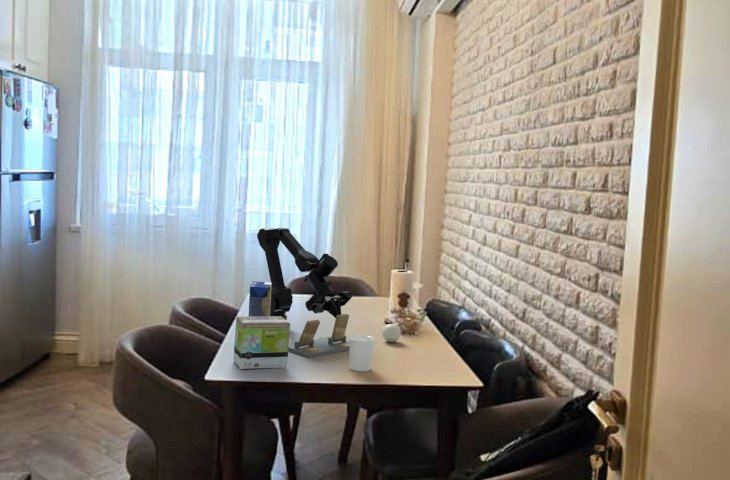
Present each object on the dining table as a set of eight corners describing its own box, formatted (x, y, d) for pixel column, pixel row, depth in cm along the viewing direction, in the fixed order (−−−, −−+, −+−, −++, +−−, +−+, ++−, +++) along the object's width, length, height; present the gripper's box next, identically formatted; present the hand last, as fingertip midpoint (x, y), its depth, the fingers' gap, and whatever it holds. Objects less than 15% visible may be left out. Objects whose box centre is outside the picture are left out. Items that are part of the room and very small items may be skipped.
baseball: (378, 342, 261) (379, 324, 261) (385, 338, 268) (386, 321, 267) (395, 345, 259) (397, 327, 258) (402, 341, 266) (403, 323, 265)
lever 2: (330, 341, 251) (336, 315, 248) (340, 339, 254) (346, 313, 252) (333, 343, 250) (339, 316, 247) (343, 341, 253) (349, 315, 251)
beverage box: (268, 344, 249) (271, 282, 247) (267, 352, 238) (270, 287, 236) (248, 343, 248) (252, 281, 246) (246, 351, 237) (250, 286, 235)
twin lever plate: (281, 348, 244) (281, 338, 243) (331, 339, 261) (331, 330, 261) (308, 357, 234) (309, 347, 234) (358, 347, 252) (359, 338, 251)
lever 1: (297, 345, 242) (307, 321, 238) (307, 343, 245) (317, 319, 242) (299, 347, 241) (309, 323, 237) (310, 345, 245) (320, 321, 241)
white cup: (347, 364, 229) (349, 334, 228) (371, 365, 230) (373, 335, 229) (348, 371, 221) (350, 340, 220) (373, 372, 222) (375, 341, 221)
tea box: (240, 370, 215) (242, 323, 214) (233, 361, 224) (235, 315, 223) (288, 368, 221) (290, 321, 220) (278, 359, 230) (281, 314, 229)
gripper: (327, 295, 268) (346, 329, 262) (289, 300, 255) (309, 336, 248) (342, 278, 262) (362, 312, 256) (305, 281, 249) (325, 317, 242)
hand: (340, 319), depth 251 cm, fingers closed, pressing on lever 2
